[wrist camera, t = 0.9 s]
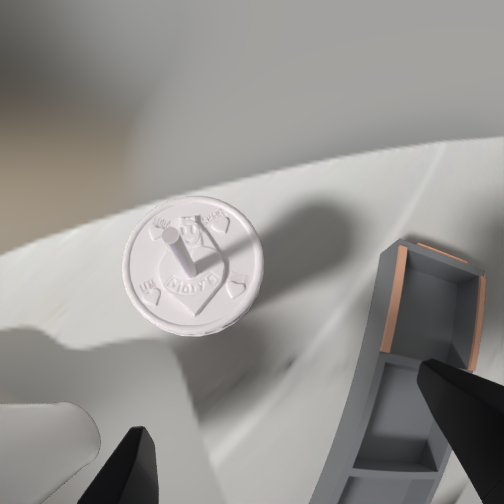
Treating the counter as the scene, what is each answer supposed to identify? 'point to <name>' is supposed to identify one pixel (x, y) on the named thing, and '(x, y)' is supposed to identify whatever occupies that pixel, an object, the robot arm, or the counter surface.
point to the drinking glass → (43, 449)
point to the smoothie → (193, 265)
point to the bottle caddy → (403, 379)
